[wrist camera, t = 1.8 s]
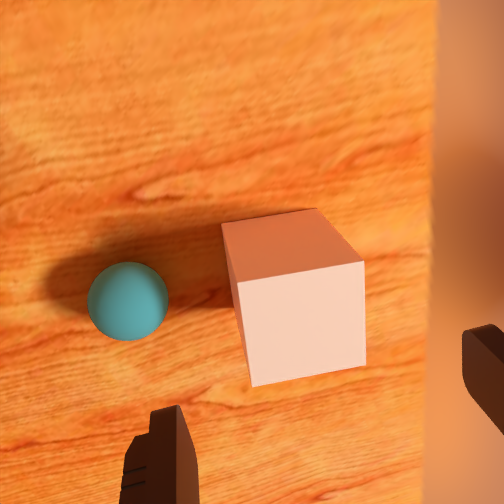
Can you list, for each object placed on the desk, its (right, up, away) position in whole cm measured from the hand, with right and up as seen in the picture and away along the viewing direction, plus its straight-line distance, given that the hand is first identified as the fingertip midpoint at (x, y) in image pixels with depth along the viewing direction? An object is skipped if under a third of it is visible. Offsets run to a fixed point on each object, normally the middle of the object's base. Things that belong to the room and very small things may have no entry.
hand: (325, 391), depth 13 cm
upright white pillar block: (-1, +3, +20) cm, 20 cm away
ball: (-10, +1, +17) cm, 20 cm away
